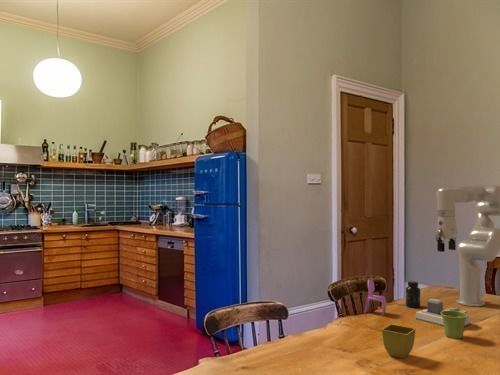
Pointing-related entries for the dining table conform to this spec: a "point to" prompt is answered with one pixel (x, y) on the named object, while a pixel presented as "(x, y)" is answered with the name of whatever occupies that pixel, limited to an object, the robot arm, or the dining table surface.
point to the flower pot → (398, 340)
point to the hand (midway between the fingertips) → (446, 250)
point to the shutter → (455, 310)
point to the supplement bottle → (413, 295)
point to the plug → (434, 306)
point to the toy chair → (374, 297)
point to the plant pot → (454, 323)
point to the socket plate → (435, 318)
